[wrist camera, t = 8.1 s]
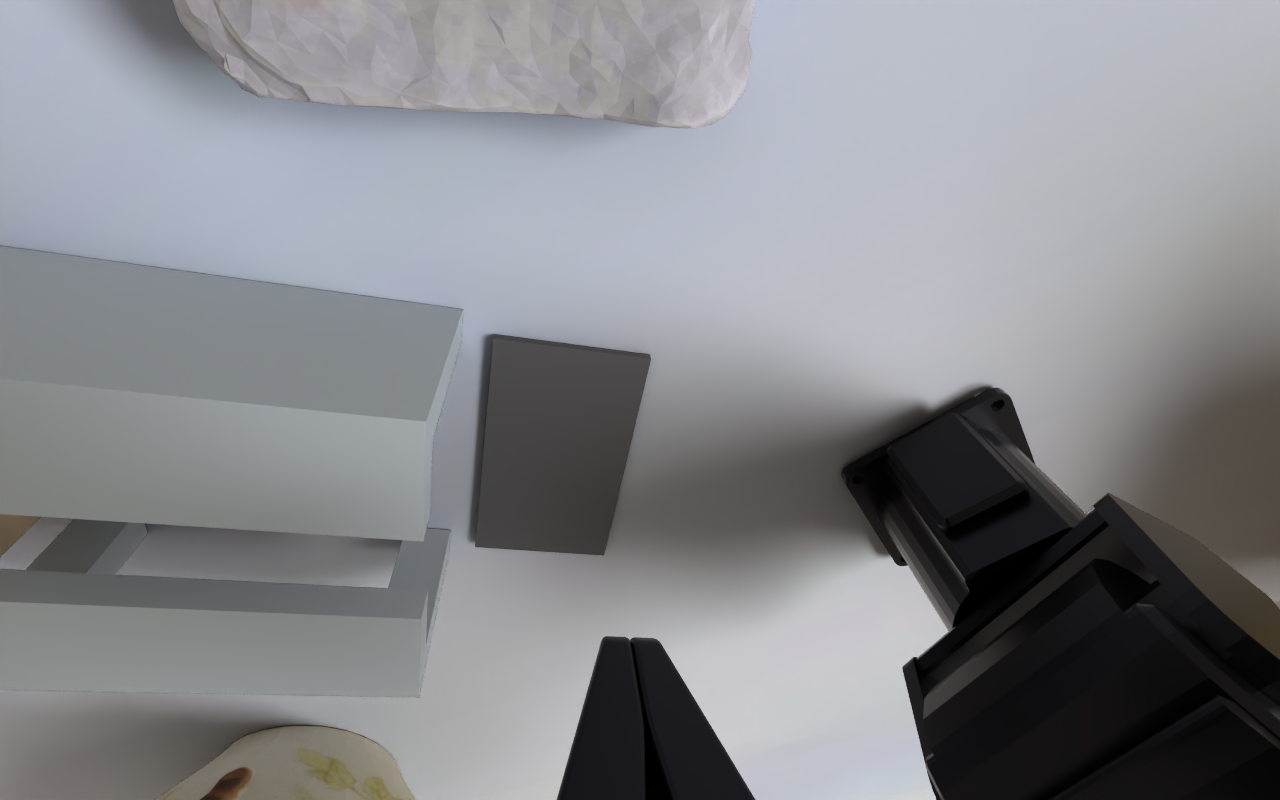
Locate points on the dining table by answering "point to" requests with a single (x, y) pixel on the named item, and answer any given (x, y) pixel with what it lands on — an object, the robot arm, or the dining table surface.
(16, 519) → the tan t-shaped block
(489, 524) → the mat
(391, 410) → the tunnel
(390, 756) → the sugar bowl
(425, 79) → the stone block
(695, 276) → the dining table surface
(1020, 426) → the robot arm
